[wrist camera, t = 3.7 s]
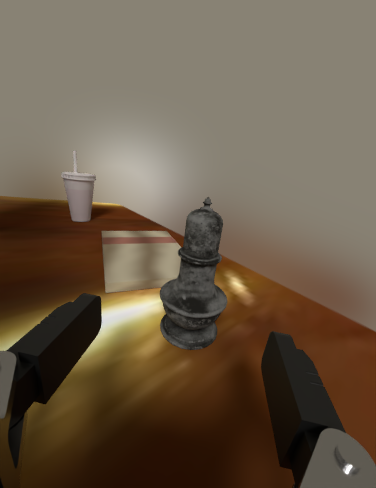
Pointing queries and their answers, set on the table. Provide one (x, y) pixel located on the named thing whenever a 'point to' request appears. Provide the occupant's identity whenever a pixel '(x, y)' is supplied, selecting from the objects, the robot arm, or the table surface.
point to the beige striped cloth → (139, 259)
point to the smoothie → (79, 192)
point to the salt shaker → (195, 284)
